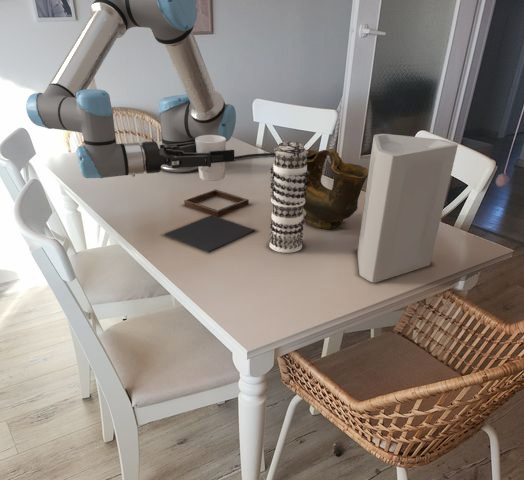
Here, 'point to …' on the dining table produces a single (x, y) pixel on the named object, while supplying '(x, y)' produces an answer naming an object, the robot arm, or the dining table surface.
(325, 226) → the pottery vessel
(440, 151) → the white triangular vase
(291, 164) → the decorative candle
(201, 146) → the white cup
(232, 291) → the dining table surface
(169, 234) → the mat
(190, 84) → the robot arm
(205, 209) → the wooden frame
